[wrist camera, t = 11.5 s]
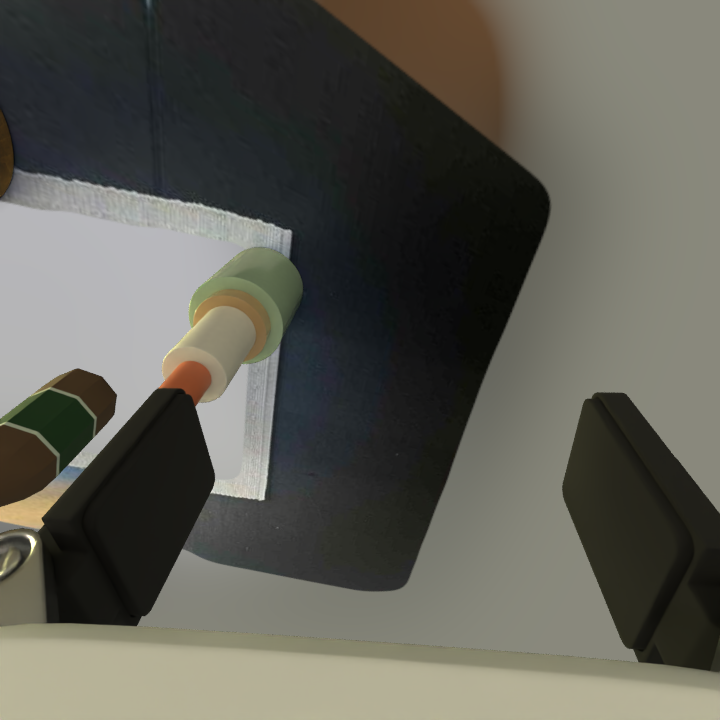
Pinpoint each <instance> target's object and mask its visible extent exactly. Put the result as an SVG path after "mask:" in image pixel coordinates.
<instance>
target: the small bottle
mask: <svg viewBox="0 0 720 720" xmlns="http://www.w3.org/2000/svg"><path fill="white" fill-rule="evenodd" d="M255 340H256V330H255V327H254V324H253V323H252V321H251V319H250V318H249V317H248V316H247V315H246V314H245V313H243V312H242V311H240V310H239V309H236V308H234V307H230V306H219V307H215V308H213V309H211V310H210V311H209V312H208V313H207V314H206V315H205V316H204V317H203V318H202V319H201V320H200V321H199V322H198V323H197V324H196V325H195V326H194V327H193V328H192V329H191V330H190V331H189V332H188V333H187V334H186V335H185V336H184V337H183V338H182V339H181V340H180V341H179V342H178V343H177V345H175V347H174V348H173V349H172V350H171V351H170V352H169V353H168V354H167V355H166V356H165V358H164V360H163V364H162V373H163V376H164V379H165V381H164V382H163V384H162V385H161V386H160V387H159V388H181V389H183V390H184V391H185V392H186V394H189V395H191V396H192V398H193V401H194V404H195V406H196V405H197V404H198V402H199V403H200V402H201V403H204V402H210V401H213V400H215V399H217V398H219V397H220V396H221V395H222V394H223V393H224V391H225V390H226V388H227V386H228V385H229V383H230V381H231V380H232V378H233V377H234V375H235V374H236V372H237V371H238V369H239V367H240V366H241V364H242V363H243V361H244V359H245V358H246V356H247V355H248V353H249V351H250V350H251V348H252V347H253V345H254V343H255Z"/></svg>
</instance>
